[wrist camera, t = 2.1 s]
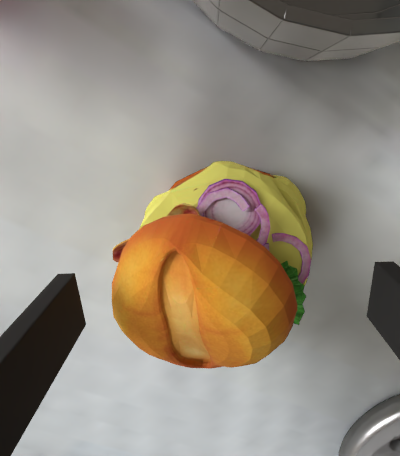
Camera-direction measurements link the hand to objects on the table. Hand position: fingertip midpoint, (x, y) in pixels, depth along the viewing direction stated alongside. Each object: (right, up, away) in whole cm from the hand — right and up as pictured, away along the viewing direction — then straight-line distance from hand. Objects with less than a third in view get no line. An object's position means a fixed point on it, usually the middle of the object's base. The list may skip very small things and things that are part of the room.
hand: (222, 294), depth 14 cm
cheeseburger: (0, +2, +7) cm, 7 cm away
